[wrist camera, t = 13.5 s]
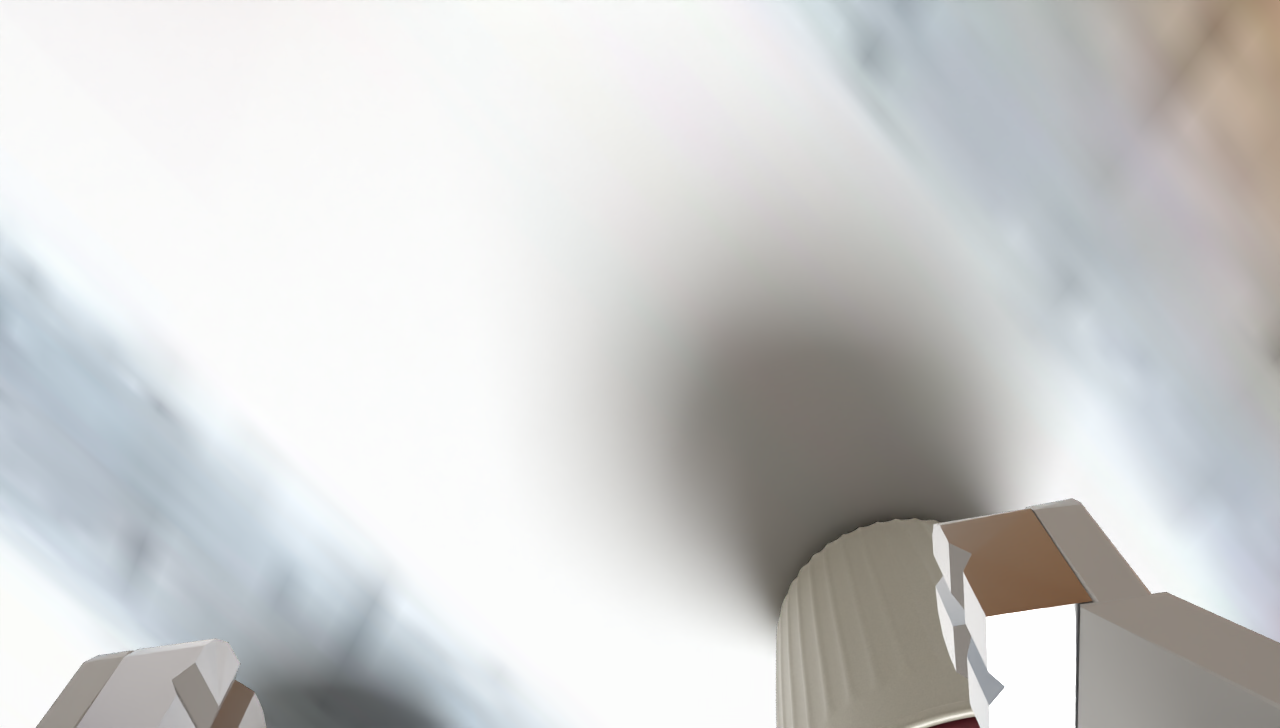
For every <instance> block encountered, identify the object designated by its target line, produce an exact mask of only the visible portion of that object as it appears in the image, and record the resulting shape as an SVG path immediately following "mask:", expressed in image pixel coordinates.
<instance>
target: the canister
mask: <svg viewBox="0 0 1280 728" xmlns="http://www.w3.org/2000/svg"><path fill="white" fill-rule="evenodd" d="M936 523H940V522H938V521H936V520H919V519H917V518H912V519H907V520H899V519H893V520H891V521H887V522H876V523H874V524H872V525H869V526H865V527H858V528H857V529H856V530H855V531H853V532H851V533H848V534H842V535H841V537H840V538H838V539H837V540H835V541H833V542H831V543H828V544H826V546H825V547H824V549H822V550H821V551H820V552H818V553H816V554H814V555H813V556H812V557H811V560H810V561H809V562H808V563H807V564H806V565H804V566H803V567H802V568H801V569H800V571H799V573H798V576H797V578H795V579H794V580H793V581H792V583H791V585H790V587H789V590H788V594H787V595H786V597H785V598H784V600H783V603H782V606H781V613H780V617H779V620H778V625H777V637H776V725H777V728H980V726H979V724H978V721H977V719H976V717H975V715H974V712H973V710H972V708H971V705H970V699H969V683H968V679H967V678H965V677H964V676H962V675H960V674H959V673H957V672H956V670H955V668H954V665H953V663H952V660H951V658H950V655H949V653H948V650H947V647H946V644H945V640H944V637H943V634H942V629H941V624H940V619H939V614H938V607H937V597H936V585H937V583H938V582H939V581H940V579H941V578H942V576H943V574H942V572H941V570H940V568H939V566H938V563H937V561H936V559H935V557H934V555H933V540H932V533H933V525H934V524H936Z"/></svg>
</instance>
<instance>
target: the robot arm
mask: <svg viewBox="0 0 1280 728" xmlns="http://www.w3.org/2000/svg"><path fill="white" fill-rule="evenodd" d="M932 540H933V555H934V557H935V559H936V561H937V563H938V566H939V568H940V570H941V572H942V574H943V576H942V578H941V579H940V581H939V582H938V583H937V585H936V597H937V607H938V614H939V619H940V624H941V629H942V634H943V637H944V640H945V644H946V647H947V650H948V653H949V655H950V658H951V660H952V663H953V665H954V668H955V670H956V672H957V673H959V674H960V675H962V676H964V677H965V678H967V679H968V683H969V699H970V705H971V708H972V710H973V712H974V715H975V717H976V719H977V721H978V724H979V726H980V728H1280V643H1279V642H1276V641H1274V640H1272V639H1270V638H1267V637H1265V636H1263V635H1261V634H1258V633H1256V632H1254V631H1252V630H1250V629H1247V628H1245V627H1243V626H1241V625H1238V624H1236V623H1234V622H1232V621H1230V620H1227V619H1225V618H1223V617H1221V616H1218V615H1216V614H1214V613H1212V612H1210V611H1207V610H1205V609H1203V608H1201V607H1198V606H1196V605H1194V604H1192V603H1190V602H1187V601H1185V600H1183V599H1181V598H1178V597H1176V596H1174V595H1172V594H1169V593H1167V592H1162V593H1155V594H1151V593H1150V591H1149V590H1148V589H1147V588H1146V586H1145V585H1144V584H1143V582H1142V581H1141V580H1140V578H1139V577H1138V576H1137V575H1136V573H1135V572H1134V571H1133V569H1132V568H1131V567H1130V566H1129V564H1128V563H1127V562H1126V560H1125V559H1124V558H1123V556H1122V555H1121V554H1120V553H1119V551H1118V550H1117V549H1116V547H1115V546H1114V545H1113V544H1112V542H1111V541H1110V540H1109V538H1108V537H1107V536H1106V534H1105V533H1104V532H1103V531H1102V529H1101V528H1100V527H1099V525H1098V524H1097V523H1096V522H1095V520H1094V519H1093V518H1092V516H1091V515H1090V514H1089V512H1088V511H1087V510H1086V509H1085V507H1084V506H1083V505H1082V503H1081V502H1079V501H1077V500H1075V499H1073V498H1072V499H1066V500H1061V501H1056V502H1050V503H1045V504H1040V505H1034V506H1029V507H1026V509H1021V510H1014V511H1008V512H1002V513H996V514H990V515H984V516H978V517H972V518H966V519H960V520H954V521H948V522H942V523H936V524H934V525H933V533H932ZM240 664H241V663H240V662H239V660H238V658H237V656H236V655H235V653H234V651H233V649H232V648H231V646H230V644H229V642H226V641H223V640H219V639H209V640H201V641H194V642H187V643H179V644H172V645H165V646H157V647H150V648H143V649H137V650H135V651H124V652H118V653H111V654H104V655H98V656H96V657H94V658H92V659H90V660H88V661H86V662H84V663H83V664H82V665H81V667H80V668H79V669H78V671H77V672H76V674H75V675H74V676H73V678H72V679H71V680H70V682H69V683H68V684H67V686H66V687H65V689H64V690H63V691H62V693H61V694H60V695H59V697H58V698H57V699H56V701H55V702H54V704H53V705H52V706H51V708H50V709H49V710H48V712H47V713H46V714H45V716H44V717H43V719H42V720H41V721H40V723H39V724H38V725H37V727H36V728H267V727H266V723H265V718H264V713H263V708H262V706H261V704H260V702H259V700H258V698H257V696H256V693H255V692H254V691H252V690H251V689H249V688H247V687H246V686H244V685H243V684H241V683H240V682H238V681H236V680H235V678H236V675H237V672H238V670H239V667H240Z"/></svg>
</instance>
